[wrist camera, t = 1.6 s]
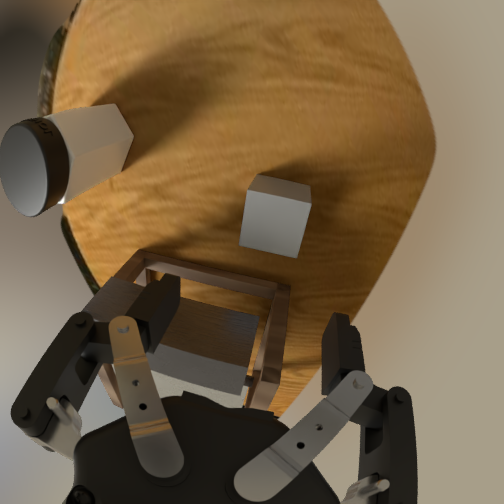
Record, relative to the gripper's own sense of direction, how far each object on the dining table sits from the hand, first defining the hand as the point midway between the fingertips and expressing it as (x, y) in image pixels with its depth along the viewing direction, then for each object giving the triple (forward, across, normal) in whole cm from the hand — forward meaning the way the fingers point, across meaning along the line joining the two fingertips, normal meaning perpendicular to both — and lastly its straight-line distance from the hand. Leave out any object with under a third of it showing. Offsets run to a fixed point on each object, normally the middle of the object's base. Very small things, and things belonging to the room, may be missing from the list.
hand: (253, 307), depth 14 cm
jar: (+15, +20, -4) cm, 25 cm away
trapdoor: (+5, +6, +14) cm, 16 cm away
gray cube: (+15, 0, 0) cm, 15 cm away
